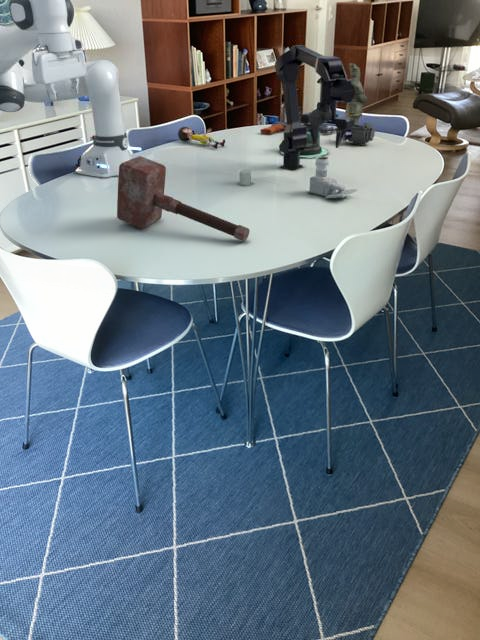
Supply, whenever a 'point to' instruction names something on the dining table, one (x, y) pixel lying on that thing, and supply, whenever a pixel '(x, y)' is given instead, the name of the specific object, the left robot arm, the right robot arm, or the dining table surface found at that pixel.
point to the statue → (357, 103)
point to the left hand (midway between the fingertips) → (64, 96)
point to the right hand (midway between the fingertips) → (325, 146)
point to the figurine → (197, 137)
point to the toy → (360, 134)
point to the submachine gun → (282, 125)
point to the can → (245, 177)
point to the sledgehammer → (158, 199)
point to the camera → (326, 182)
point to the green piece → (312, 147)
